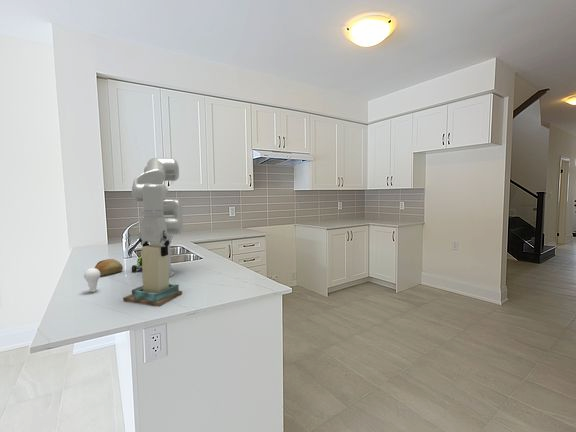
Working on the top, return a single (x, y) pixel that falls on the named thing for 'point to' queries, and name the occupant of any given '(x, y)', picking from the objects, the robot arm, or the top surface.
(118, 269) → the bread roll
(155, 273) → the beige long rectangular block
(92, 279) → the lightbulb
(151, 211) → the robot arm
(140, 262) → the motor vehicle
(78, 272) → the top surface
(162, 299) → the board
